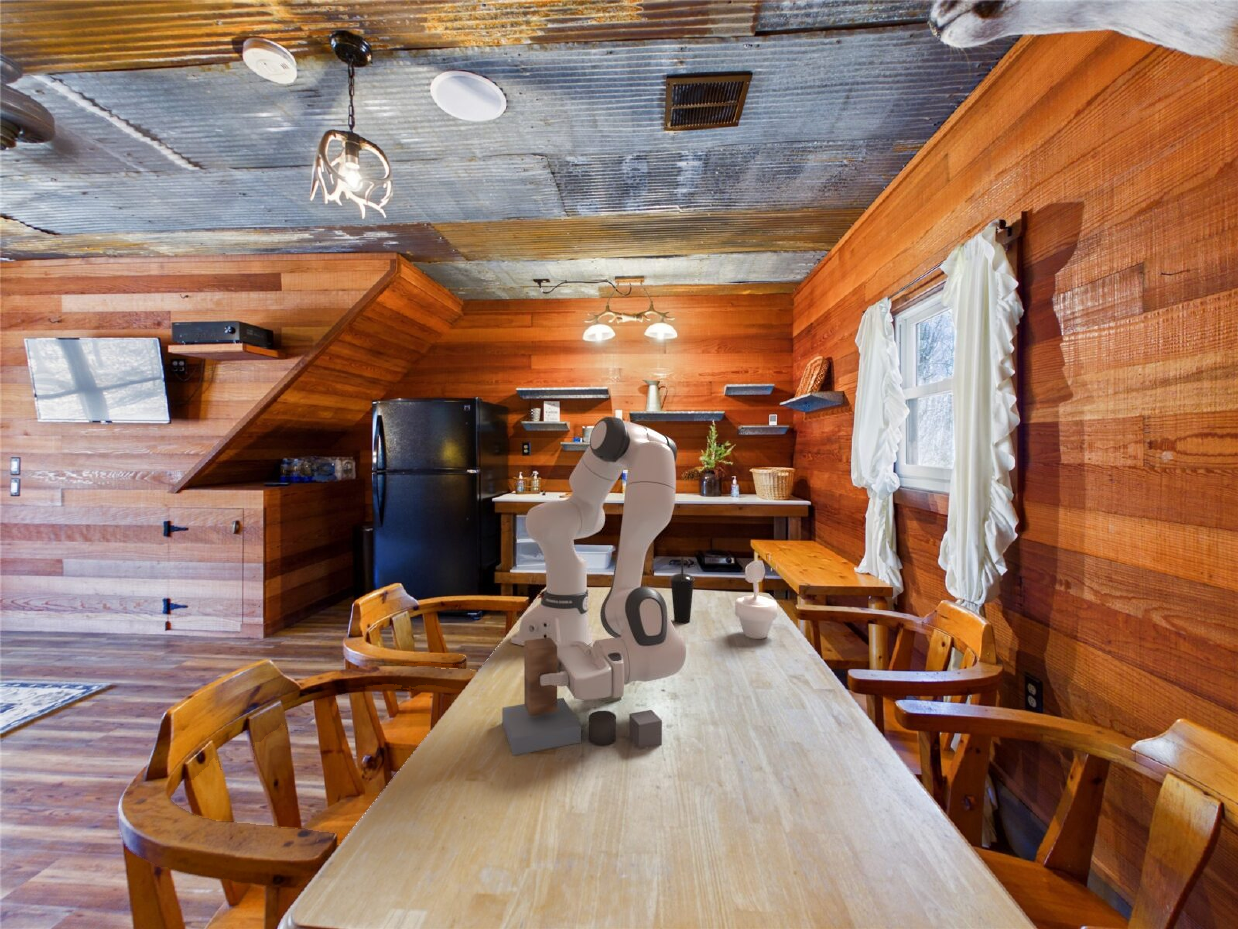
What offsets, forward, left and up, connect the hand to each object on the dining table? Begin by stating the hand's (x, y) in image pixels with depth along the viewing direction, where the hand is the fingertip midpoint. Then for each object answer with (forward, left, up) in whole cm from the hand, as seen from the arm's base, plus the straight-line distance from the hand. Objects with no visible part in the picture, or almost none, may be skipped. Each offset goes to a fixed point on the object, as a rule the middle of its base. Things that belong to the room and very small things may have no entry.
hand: (535, 673), depth 100 cm
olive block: (+7, +19, -11) cm, 23 cm away
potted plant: (+31, +72, -11) cm, 79 cm away
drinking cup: (+8, +77, -11) cm, 78 cm away
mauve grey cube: (+20, +5, -11) cm, 23 cm away
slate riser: (+1, +1, -11) cm, 11 cm away
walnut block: (+1, +1, -7) cm, 7 cm away
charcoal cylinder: (+12, +3, -11) cm, 17 cm away
